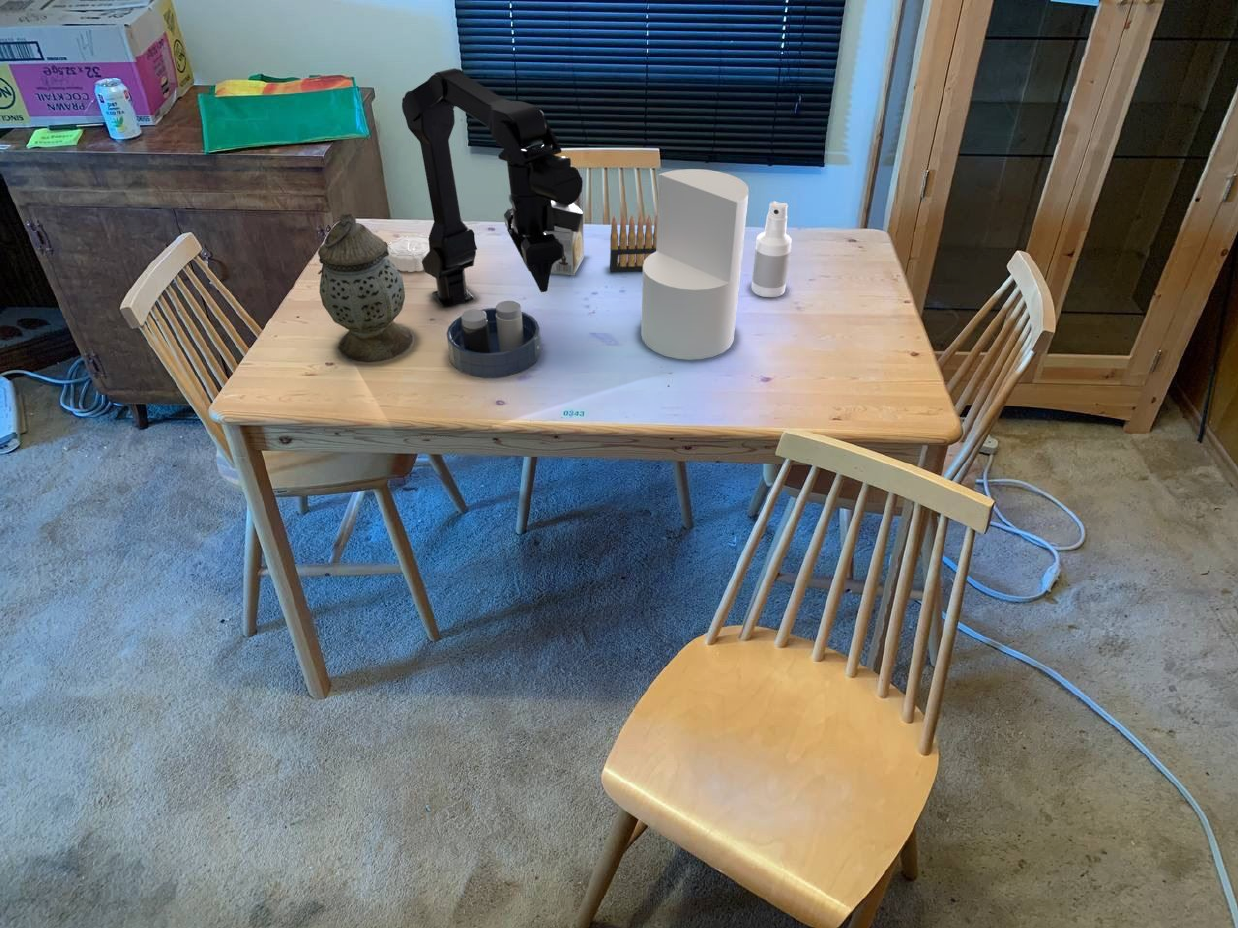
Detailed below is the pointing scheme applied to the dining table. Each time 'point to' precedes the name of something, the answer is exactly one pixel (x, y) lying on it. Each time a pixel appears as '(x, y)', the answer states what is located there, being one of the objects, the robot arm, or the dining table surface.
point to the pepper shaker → (476, 331)
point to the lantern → (363, 292)
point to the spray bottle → (772, 254)
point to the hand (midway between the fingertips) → (537, 281)
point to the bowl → (494, 349)
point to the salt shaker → (509, 325)
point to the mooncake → (408, 252)
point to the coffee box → (570, 246)
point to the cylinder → (694, 264)
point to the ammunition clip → (631, 245)
